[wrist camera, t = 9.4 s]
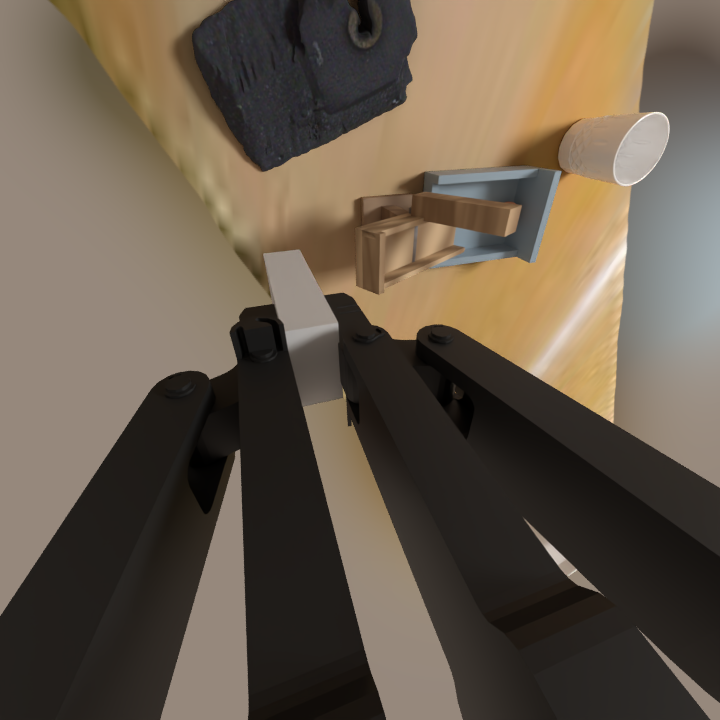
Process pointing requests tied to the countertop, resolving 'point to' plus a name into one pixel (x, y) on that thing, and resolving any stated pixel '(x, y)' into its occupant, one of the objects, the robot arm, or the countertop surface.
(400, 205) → the fulcrum
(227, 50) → the dark slate chunk
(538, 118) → the countertop surface
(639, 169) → the white cup
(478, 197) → the bin
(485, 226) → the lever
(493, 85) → the countertop surface
